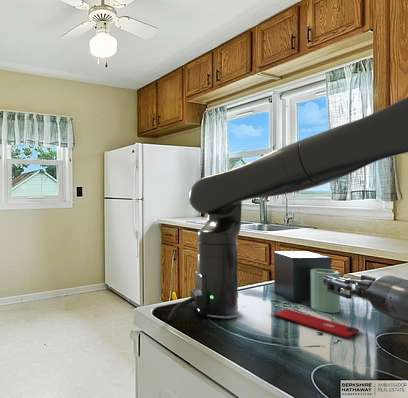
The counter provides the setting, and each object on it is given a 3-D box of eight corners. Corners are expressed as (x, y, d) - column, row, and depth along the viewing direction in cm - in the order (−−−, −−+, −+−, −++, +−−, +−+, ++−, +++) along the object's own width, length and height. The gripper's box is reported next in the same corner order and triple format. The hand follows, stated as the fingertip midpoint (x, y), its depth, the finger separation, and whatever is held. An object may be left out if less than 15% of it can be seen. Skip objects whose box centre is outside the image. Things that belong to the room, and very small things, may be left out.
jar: (320, 312, 78) (320, 273, 78) (305, 304, 84) (305, 268, 84) (345, 312, 78) (345, 273, 78) (328, 304, 84) (328, 268, 84)
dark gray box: (293, 302, 86) (293, 257, 86) (274, 291, 96) (274, 251, 96) (337, 302, 86) (336, 257, 86) (313, 291, 96) (313, 251, 96)
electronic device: (273, 315, 76) (347, 338, 63) (273, 313, 76) (347, 335, 63) (286, 310, 79) (359, 331, 66) (286, 308, 79) (359, 329, 66)
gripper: (447, 280, 58) (374, 263, 74) (368, 281, 58) (312, 263, 75) (448, 322, 58) (374, 295, 74) (369, 322, 58) (312, 295, 74)
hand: (343, 279), depth 74 cm, fingers open, 8 cm apart
